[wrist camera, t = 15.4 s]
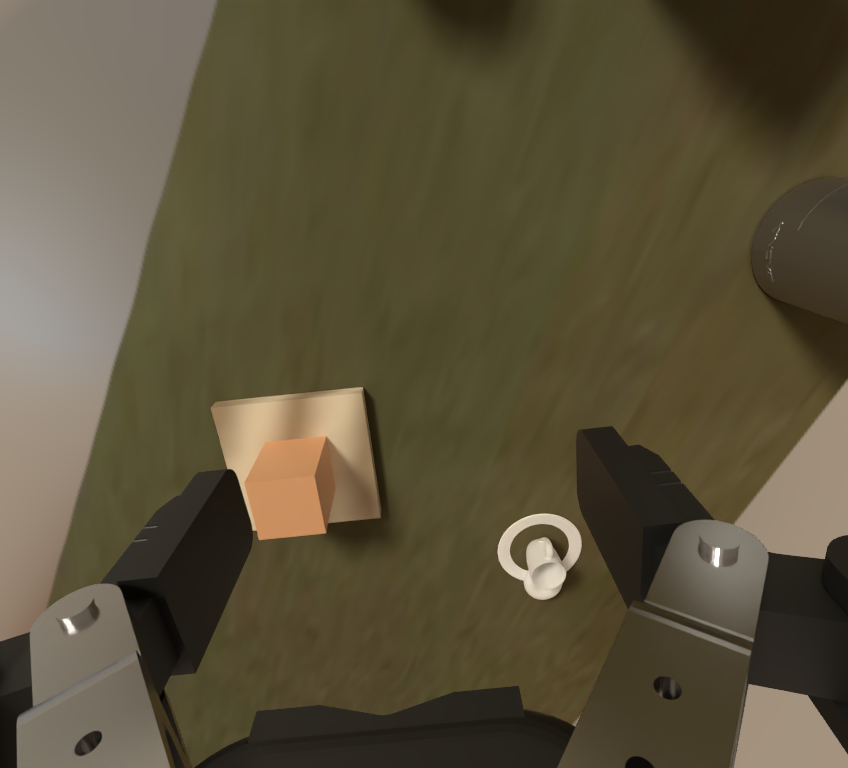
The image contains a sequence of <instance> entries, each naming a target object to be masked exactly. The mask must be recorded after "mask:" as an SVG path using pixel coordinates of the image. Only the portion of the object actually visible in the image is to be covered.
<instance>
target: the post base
mask: <svg viewBox="0 0 848 768" xmlns="http://www.w3.org/2000/svg"><path fill="white" fill-rule="evenodd" d="M211 410H212V414H213V418H214V421H215V425H216V429H217V432H218V436H219V439H220V443H221V447H222V450H223V454H224V458H225V461H226V465H227V468H228V469H232V470H233V471H234V472H235V473H236V475H237V477H238V480H239V484H240V487H241V490H242V494H243V497H244V500H245V504H246V507H247V510H248V514H249V517H250V520H251V524H252V531H254V530H256V526H255V522H254V518H253V515H252V511H251V507H250V503H249V500H248V496H247V492H246V488H245V484H244V482H245V480H246V478H247V476H248V474H249V473H250V471H251V469H252V467H253V465H254V463H255V461H256V459H257V457H258V455H259V453H260V451H261V449H262V447H263V445H264V443H265V442H272V441H282V440H292V439H302V438H312V437H322V436H326V438H327V443H328V449H329V454H330V460H331V465H332V470H333V476H334V481H335V487H336V489H335V494H334V498H333V503H332V508H331V512H330V517H329V522H328V523H334V522H344V521H354V520H364V519H374V518H381V504H380V497H379V491H378V484H377V477H376V470H375V464H374V457H373V450H372V444H371V437H370V430H369V424H368V417H367V410H366V404H365V397H364V390H363V387H359V388H349V389H339V390H329V391H319V392H309V393H299V394H289V395H279V396H269V397H259V398H249V399H239V400H229V401H219V402H215V404H214V405H213V406H212V407H211Z"/></svg>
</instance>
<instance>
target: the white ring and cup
mask: <svg viewBox="0 0 848 768" xmlns="http://www.w3.org/2000/svg"><path fill="white" fill-rule="evenodd" d="M536 524H549V525H553V526H556V527H558V528H560V529H561V530H562V531H563V532H564V533H565V534H566V536H567V538H568V541H569V549H568V553H567V555H566V557H565V558H564V559H563V561H562V562H561V560H560V558H559V556H558V554H557V552H556V551H555V549H554V548H553V546H552V544H551V542H550V540H549V539H548V538H546V537H543V538H540V539H536V540H533V541H532V542H530V543H529V545H528V547H527V551H526V558H527V565H528V569H529V570H528V571H526V570H523V569H521V568H520V567H518V566H517V565H516V564H515V563H514V562H513V560H512V559H511V556H510V545H511V542H512V540H513V539H514V537H515V536H516V535H517V534H518V533H519V532H520V531H522V530H523V529H525V528H527V527H529V526H532V525H536ZM581 548H582V540H581V536H580V533H579V531H578V529H577V528H576V527H575V526H574V525H573V524H572V523H571V522H570V521H569V520H567V519H565V518H563V517H561V516H558V515H554V514H535V515H531V516H527V517H525V518H522V519H520V520H519V521H517V522H515V523H514V524H512V525H511V526H510V527H509V528H508V529H507V530H506V531H505V533H504V534H503V536H502V537H501V539H500V542H499V545H498V558H499V561H500V563H501V565H502V567H503V568H504V569H505V571H506V572H508V573H509V574H510V575H512V576H513V577H515V578H517V579H520V580H523V581H524V587H525V589H526V591H527V593H528V594H529V595H530V596H532V597H533V598H536V599H540V600H546V599H550V598H552V597H554V596H555V595H557V594H558V593H559V591H560V589H561V587H562V583H563V582H564V580H565V578H566V572H567V571H568V570H569V569H570V568H571V567H572V566H573V565H574V564H575V562H576V561H577V559H578V557H579V555H580V552H581Z"/></svg>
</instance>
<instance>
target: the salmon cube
mask: <svg viewBox="0 0 848 768" xmlns="http://www.w3.org/2000/svg"><path fill="white" fill-rule="evenodd" d="M244 484H245V488H246V492H247V496H248V500H249V503H250V507H251V511H252V515H253V518H254V522H255V526H256V530H257V534H258V537H259V540H263V539H273V538H283V537H293V536H303V535H313V534H323V533H326V531H327V526H328V522H329V517H330V512H331V508H332V503H333V498H334V494H335V489H336V487H335V481H334V476H333V470H332V465H331V460H330V454H329V449H328V443H327V438H326V436H322V437H312V438H302V439H292V440H282V441H272V442H265V443H264V445H263V447H262V449H261V451H260V453H259V455H258V457H257V459H256V461H255V463H254V465H253V467H252V469H251V471H250V473H249V474H248V476H247V478H246V480H245V482H244Z"/></svg>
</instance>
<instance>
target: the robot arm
mask: <svg viewBox="0 0 848 768" xmlns="http://www.w3.org/2000/svg"><path fill="white" fill-rule="evenodd" d="M751 263H752V268H753V274H754V276H755V278H756V280H757V283H758V285H759V286H760V287H761V288H762V289H763V291H764V292H765V293H766V294H768V295H769V296H771V297H772V298H774V299H776V300H779V301H782V302H784V303H787V304H790V305H793V306H796V307H799V308H802V309H805V310H808V311H811V312H813V313H816V314H819V315H821V316H824V317H827V318H830V319H833V320H836V321H839V322H842V323H845V324H848V177H828V178H819V179H815V180H812V181H809V182H806V183H804V184H802V185H800V186H798V187H796V188H794V189H792V190H791V191H790V192H789V193H787V194H786V195H785V196H783V197H782V198H781V199H780V200H779V201H778V202H777V203H776V204H775V205H774V206H773V207H772V208H771V209H770V210H769V212H768V213H767V215H766V216H765V218H764V219H763V221H762V222H761V224H760V227H759V229H758V231H757V233H756V236H755V239H754V243H753V247H752V261H751ZM576 455H577V494H578V501H579V505H580V509H581V512H582V515H583V517H584V519H585V521H586V523H587V525H588V527H589V530H590V532H591V534H592V536H593V538H594V540H595V542H596V544H597V546H598V548H599V550H600V552H601V554H602V556H603V558H604V560H605V562H606V564H607V567H608V569H609V571H610V573H611V575H612V577H613V579H614V581H615V583H616V585H617V587H618V589H619V591H620V593H621V595H622V597H623V599H624V602H625V604H626V606H627V608H628V611H627V614H626V616H625V618H624V620H623V623H622V625H621V627H620V629H619V631H618V634H617V636H616V638H615V640H614V643H613V645H612V647H611V649H610V651H609V654H608V656H607V658H606V660H605V663H604V665H603V667H602V669H601V671H600V674H599V676H598V678H597V680H596V683H595V685H594V687H593V689H592V691H591V694H590V696H589V698H588V700H587V703H586V705H585V707H584V709H583V712H582V714H581V716H580V718H579V720H578V723H577V725H576V727H575V726H573V725H571V724H570V723H568V722H565V721H563V720H561V719H558V718H556V717H554V716H551V715H548V714H544V713H541V712H537V711H533V710H527V709H523V705H522V700H521V695H520V690H519V686H513V687H503V688H493V689H482V690H472V691H462V692H453V693H450V694H447V695H444V696H442V697H439V698H436V699H433V700H430V701H427V702H425V703H422V704H419V705H416V706H413V707H410V708H408V709H405V710H402V711H399V712H396V713H393V714H390V715H375V714H369V713H363V712H357V711H351V710H346V709H340V708H334V707H328V706H322V705H317V706H307V707H296V708H286V709H276V710H265V711H257V712H256V716H255V719H254V722H253V726H252V729H251V732H250V736H249V737H246V738H244V739H241V740H239V741H237V742H235V743H233V744H231V745H229V746H227V747H225V748H223V749H222V750H220V751H218V752H216V753H215V754H213V755H211V756H210V757H208V758H207V759H206V760H204V761H203V762H201V763H200V764H199V765H197V766H196V767H195V768H734V762H735V757H736V751H737V746H738V740H739V735H740V729H741V723H742V717H743V712H744V707H745V701H746V695H747V690H748V684H752V685H758V686H763V687H768V688H773V689H778V690H784V691H789V692H794V693H799V694H805V695H808V696H809V698H810V699H811V701H812V702H813V704H814V705H815V707H816V708H817V709H818V711H819V712H820V714H821V715H822V717H823V718H824V720H825V721H826V723H827V724H828V726H829V727H830V729H831V730H832V732H833V733H834V735H835V736H836V737H837V739H838V740H839V742H840V743H841V745H842V746H843V748H844V749H845V751H846V752H847V754H848V535H846V536H841V537H838V538H836V539H834V540H832V541H831V542H830V544H829V545H828V547H827V552H826V557H825V559H817V558H808V557H799V556H791V555H782V554H776V553H771V552H767V549H766V548H765V546H764V544H763V543H762V542H761V541H760V540H759V539H757V537H755V536H754V535H753V534H751V533H750V532H748V531H746V530H744V529H742V528H740V527H738V526H735V525H733V524H729V523H726V522H721V521H715V520H714V519H713V518H712V516H711V515H710V514H709V513H708V512H707V511H706V510H705V508H704V507H703V506H702V505H701V504H700V503H699V501H698V500H697V499H696V498H695V497H694V496H693V494H692V493H691V492H690V491H689V490H688V489H687V488H686V486H685V485H684V484H681V481H680V479H679V478H678V477H677V476H676V475H675V474H674V472H671V469H670V468H669V467H668V465H667V464H666V463H665V462H664V461H663V460H662V459H661V457H660V456H659V455H657V454H655V453H653V452H652V451H650V450H648V449H646V448H644V447H642V446H641V445H633V446H628V445H627V444H626V443H625V442H624V440H623V439H622V438H621V436H620V435H619V434H618V433H617V431H616V430H615V429H614V428H613V427H612V426H609V427H600V428H592V429H583V430H578V432H577V437H576ZM252 540H253V531H252V524H251V520H250V517H249V514H248V510H247V507H246V504H245V500H244V497H243V494H242V490H241V487H240V484H239V480H238V477H237V475H236V473H235V472H234V471H233V470H232V469H225V470H216V471H207V472H199V473H197V474H196V475H195V476H194V478H193V479H192V480H191V482H190V483H189V484H188V486H187V487H186V488H185V490H184V491H183V492H182V494H181V495H180V496H176V497H174V498H173V499H172V500H170V501H169V502H168V503H166V504H165V505H164V506H162V507H161V508H160V509H158V510H157V511H156V512H155V514H154V515H153V516H152V518H151V519H150V520H149V521H148V523H147V524H146V525H145V529H142V530H141V532H140V533H139V534H138V535H137V537H136V538H135V542H133V543H131V544H130V546H129V547H128V548H127V550H126V551H125V552H124V553H123V555H122V556H121V557H120V559H119V560H118V561H117V562H116V564H115V565H114V566H113V568H112V569H111V570H110V571H109V573H108V574H107V575H106V577H105V578H104V579H103V580H102V582H101V583H100V584H96V585H92V586H88V587H85V588H82V589H79V590H77V591H75V592H73V593H71V594H69V595H67V596H65V597H63V598H62V599H60V600H58V601H57V602H56V603H54V604H53V605H51V606H50V607H49V608H48V609H47V610H46V611H44V612H43V613H42V614H41V616H40V617H39V618H38V619H37V620H36V622H35V623H34V625H33V627H32V629H31V632H29V633H26V634H23V635H20V636H17V637H13V638H10V639H7V640H4V641H1V642H0V768H192V765H191V762H190V759H189V756H188V753H187V751H186V748H185V745H184V742H183V739H182V736H181V733H180V730H179V727H178V724H177V721H176V718H175V715H174V712H173V709H172V706H171V703H170V700H169V698H168V695H167V693H166V691H165V689H164V688H165V686H166V683H167V681H168V679H169V677H170V676H172V675H182V674H192V673H196V671H197V669H198V667H199V665H200V662H201V660H202V658H203V656H204V653H205V651H206V649H207V647H208V644H209V642H210V640H211V638H212V635H213V633H214V631H215V629H216V626H217V624H218V622H219V620H220V617H221V615H222V613H223V611H224V609H225V606H226V604H227V602H228V600H229V597H230V595H231V593H232V591H233V588H234V586H235V584H236V582H237V579H238V577H239V575H240V573H241V570H242V568H243V566H244V564H245V561H246V559H247V557H248V555H249V553H250V550H251V547H252Z"/></svg>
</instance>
